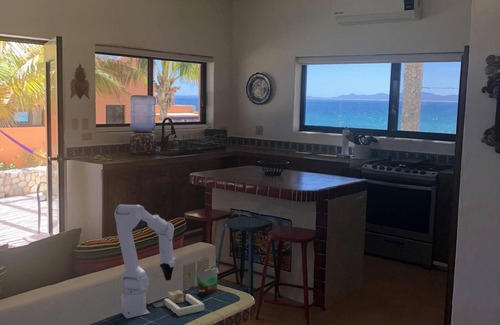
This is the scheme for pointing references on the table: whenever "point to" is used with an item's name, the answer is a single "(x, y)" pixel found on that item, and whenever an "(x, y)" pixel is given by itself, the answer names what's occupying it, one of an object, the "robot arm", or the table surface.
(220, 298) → the table surface
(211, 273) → the food container
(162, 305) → the plate
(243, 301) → the table surface
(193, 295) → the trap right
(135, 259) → the robot arm
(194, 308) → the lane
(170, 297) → the birch block
